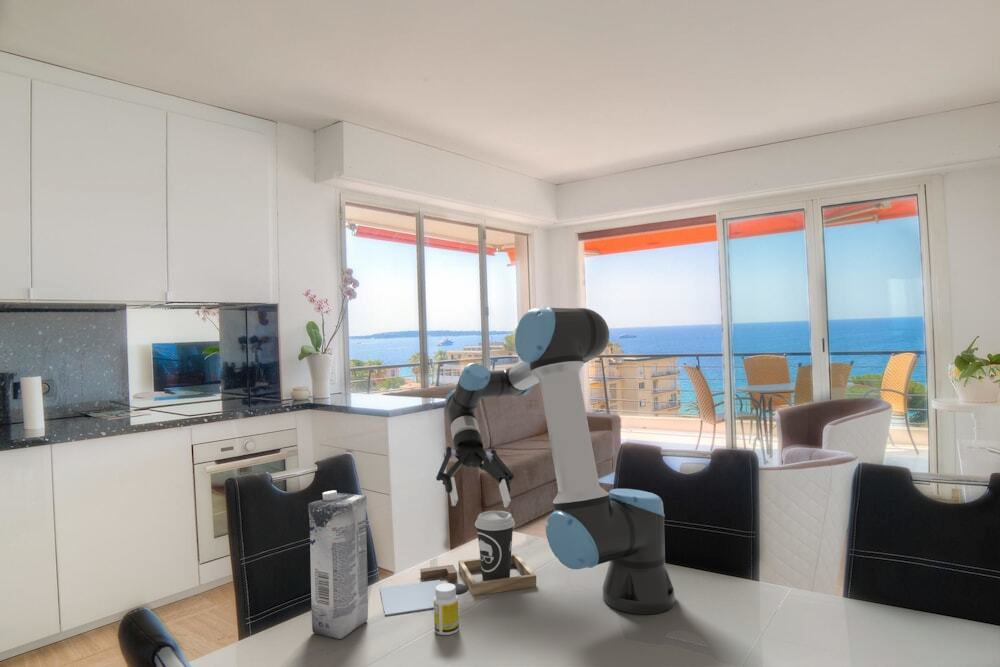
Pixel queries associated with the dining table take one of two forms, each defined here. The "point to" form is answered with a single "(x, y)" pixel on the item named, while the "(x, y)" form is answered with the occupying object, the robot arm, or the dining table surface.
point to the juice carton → (338, 563)
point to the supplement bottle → (446, 609)
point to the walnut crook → (439, 572)
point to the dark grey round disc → (460, 588)
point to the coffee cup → (495, 543)
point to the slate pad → (409, 597)
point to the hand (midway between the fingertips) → (481, 503)
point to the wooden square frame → (497, 584)
